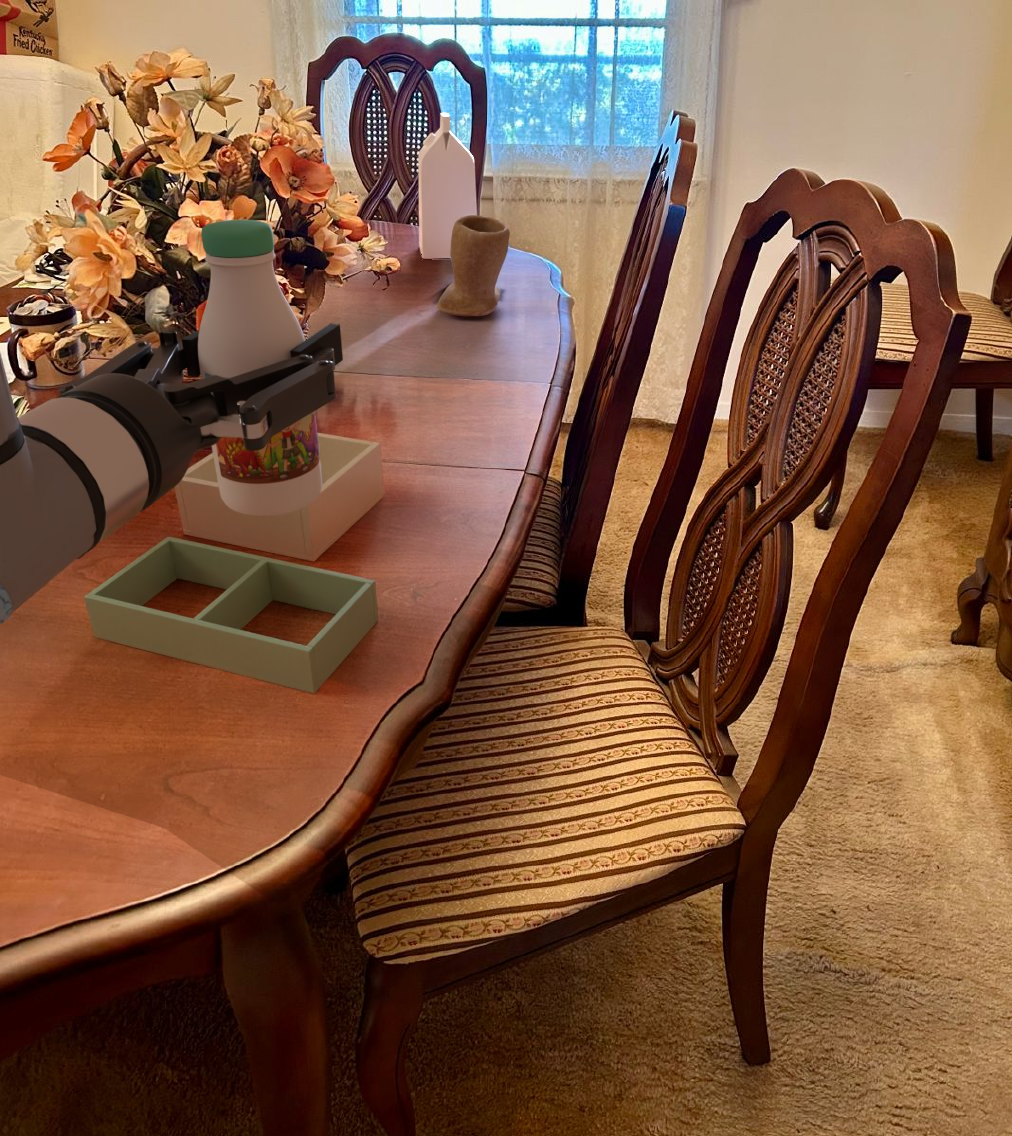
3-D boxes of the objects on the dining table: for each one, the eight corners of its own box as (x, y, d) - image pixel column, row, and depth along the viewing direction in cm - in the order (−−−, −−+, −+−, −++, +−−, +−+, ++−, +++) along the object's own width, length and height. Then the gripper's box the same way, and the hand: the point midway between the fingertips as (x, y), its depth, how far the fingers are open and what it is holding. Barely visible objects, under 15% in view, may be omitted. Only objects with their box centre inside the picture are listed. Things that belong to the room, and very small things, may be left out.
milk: (479, 258, 190) (477, 117, 177) (422, 259, 189) (417, 118, 175) (472, 245, 200) (471, 111, 187) (419, 246, 199) (413, 111, 186)
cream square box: (183, 534, 91) (172, 478, 88) (265, 474, 103) (258, 422, 100) (313, 562, 87) (307, 504, 84) (384, 496, 99) (381, 442, 96)
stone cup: (502, 324, 152) (503, 227, 144) (431, 320, 153) (428, 224, 145) (516, 299, 165) (517, 209, 157) (450, 295, 166) (448, 206, 158)
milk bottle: (199, 500, 71) (150, 226, 61) (274, 465, 77) (241, 208, 66) (269, 529, 67) (230, 243, 57) (344, 490, 73) (320, 222, 62)
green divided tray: (94, 637, 76) (83, 596, 74) (176, 574, 85) (168, 535, 83) (314, 694, 70) (309, 651, 68) (378, 620, 79) (375, 580, 77)
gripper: (-40, 495, 56) (174, 370, 74) (271, 544, 51) (415, 398, 70) (-80, 374, 52) (156, 275, 71) (253, 416, 47) (411, 298, 66)
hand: (285, 336), depth 70 cm, fingers closed on milk bottle, 8 cm apart
